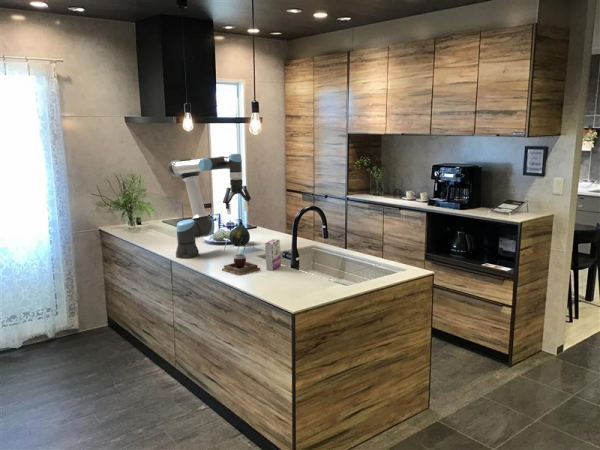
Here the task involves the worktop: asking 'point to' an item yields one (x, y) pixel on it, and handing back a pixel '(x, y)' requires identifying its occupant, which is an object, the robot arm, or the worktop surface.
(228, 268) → the holder board
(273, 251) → the candy bar box
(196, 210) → the robot arm
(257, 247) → the worktop surface
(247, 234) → the squash
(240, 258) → the mate gourd
